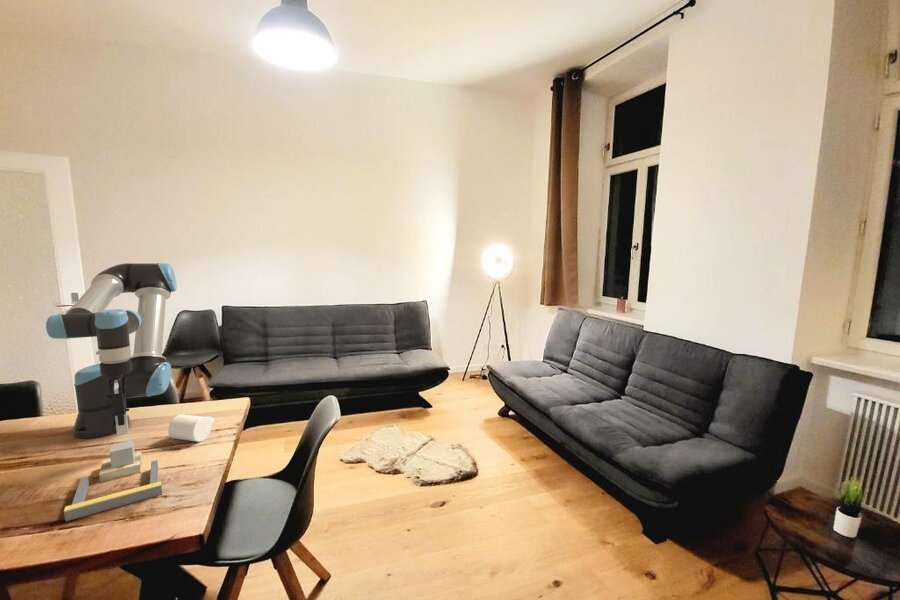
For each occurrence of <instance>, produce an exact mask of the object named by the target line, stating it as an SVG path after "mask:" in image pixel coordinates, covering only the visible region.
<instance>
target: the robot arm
mask: <svg viewBox="0 0 900 600" xmlns="http://www.w3.org/2000/svg"><path fill="white" fill-rule="evenodd" d="M177 288H178V287H177V280H176V274H175V271H174V268H173V266H172V265H171V264H170V263H164V262H163V263H162V262H157V263H153V262H152V263H151V262H150V263H148V262H146V263H142V262H141V263H140V262H139V263H130V262H129V263H121V264H117V265H113V266H111V267H108V268H106V269H105V270H104V269H103V271H101V272H99V273H98V274H97V275H96V276H94V277H93V278H92V280H91V283H90V287H89V288H88V289H87V290H86V291H85V292H84V293H83V294H82V295H81V297H79V298H78V300H77V301H76V302H75V303H74V304H73V305H72V306H71V307H70V309H68V311H67V312H65V314H64V313H62V314H61V313H59V314H53V315H50V316H49V317H48V318H47V320H46V323H45V330H46V333H47V335H48V336H49V337H50V338H52V339H56V340H59V339H65V340H68V339H79V338H80V339H81V338H82V339H83V338H96V340H97V341H96V342H97V350H98V351H95V355H98V360H99V362H100V363H96V364H92V365H89V366H86V367H83V368H80V369H78V371H77V372H75V374H74V383H73V385H74V389H75V391H74V392H75V397H76V404H77V416H76V418H75V423H74V426H73V428H72V429H73V436H74V437H75V438H78V439H94V438H101V437H104V436H108V435H112V434H115V433H116V436H123V435H127V434H129V425H130V423H131V421H130V415H129V414H128V412H129V411H130V407H129V408H127V407H128V405H127V399H133V398H142V397H152V396H158V395H161V394H164V393H165V392H166V391H167V389H168V387H169V386H170V382H171V377H172V365H171V364H170V363H169V362H168V361H167V358H166V357H165V356H164V355H162V352H163V342H164V341H163V340H164V330H165V329H164V328H165V317H166V316H165V315H166V313H165V312H166V303H167V302H166V301H167V300H168V299H170V298H171V295H172V293H175V292H176V291H177ZM125 293H133V294H134V296H135V297H137V298H138V308H137V312H136V311H134V310H130V309H128V310H127V309H126V310H125V309H119V308H114V309H107V307H108V306H109V305H110V303H111V302H112V301H113V299H114V298H116V297H118V296H120V295H121V294H125ZM132 333H133V334H134V333H135V334H134V344H133V354H132V349H131V341H130V335H131V334H132Z"/></svg>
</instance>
